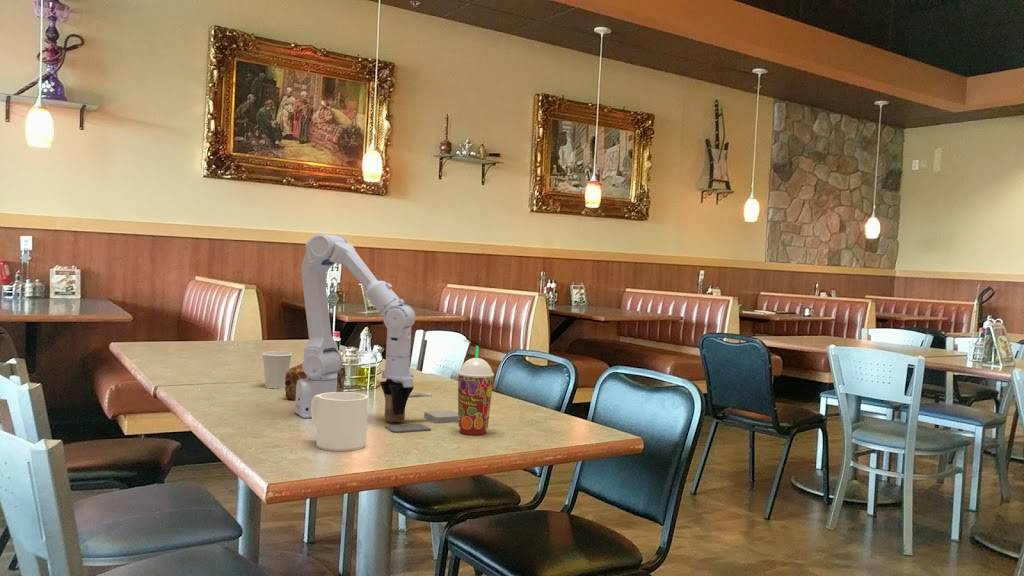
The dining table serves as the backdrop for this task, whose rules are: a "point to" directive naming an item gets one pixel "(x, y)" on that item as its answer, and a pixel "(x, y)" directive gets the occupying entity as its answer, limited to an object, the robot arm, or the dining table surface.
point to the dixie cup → (276, 368)
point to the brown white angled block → (389, 407)
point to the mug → (340, 420)
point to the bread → (298, 373)
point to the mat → (407, 428)
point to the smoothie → (474, 395)
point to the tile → (441, 416)
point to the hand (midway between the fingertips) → (395, 412)
